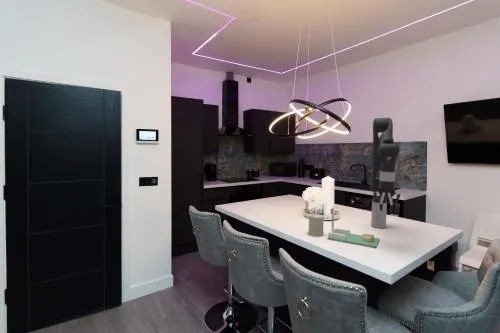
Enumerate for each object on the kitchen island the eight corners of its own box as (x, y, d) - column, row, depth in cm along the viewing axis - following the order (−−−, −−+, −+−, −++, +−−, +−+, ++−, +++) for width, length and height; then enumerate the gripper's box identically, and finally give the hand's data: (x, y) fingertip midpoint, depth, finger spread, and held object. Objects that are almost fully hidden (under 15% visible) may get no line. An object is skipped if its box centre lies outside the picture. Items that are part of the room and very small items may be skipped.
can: (305, 232, 169) (305, 214, 169) (317, 231, 172) (318, 213, 172) (313, 237, 161) (314, 217, 160) (326, 235, 164) (327, 216, 163)
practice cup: (334, 231, 169) (334, 205, 168) (349, 234, 164) (350, 207, 163) (328, 236, 158) (329, 209, 157) (344, 239, 153) (345, 211, 152)
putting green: (334, 232, 170) (334, 230, 170) (379, 239, 156) (379, 238, 156) (327, 239, 157) (327, 237, 157) (375, 248, 143) (375, 246, 143)
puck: (363, 238, 156) (363, 233, 156) (374, 240, 153) (374, 234, 153) (361, 240, 151) (361, 235, 151) (373, 242, 148) (373, 237, 148)
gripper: (402, 180, 145) (401, 211, 146) (374, 178, 153) (372, 208, 154) (401, 181, 139) (400, 214, 140) (372, 179, 146) (371, 210, 147)
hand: (386, 210), depth 147 cm, fingers open, 3 cm apart
